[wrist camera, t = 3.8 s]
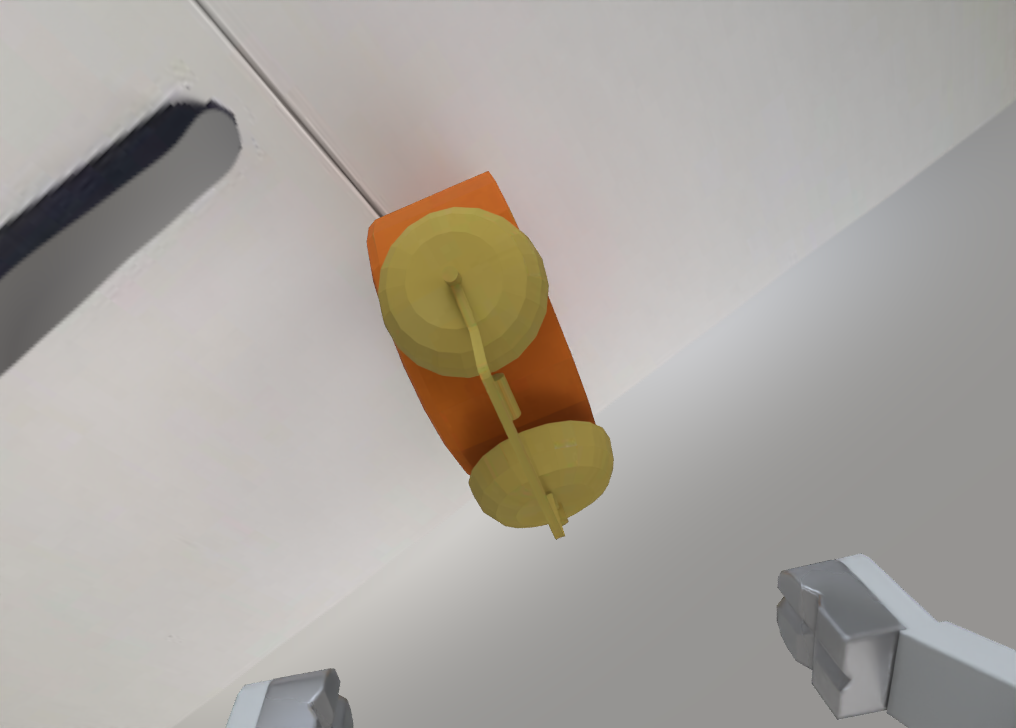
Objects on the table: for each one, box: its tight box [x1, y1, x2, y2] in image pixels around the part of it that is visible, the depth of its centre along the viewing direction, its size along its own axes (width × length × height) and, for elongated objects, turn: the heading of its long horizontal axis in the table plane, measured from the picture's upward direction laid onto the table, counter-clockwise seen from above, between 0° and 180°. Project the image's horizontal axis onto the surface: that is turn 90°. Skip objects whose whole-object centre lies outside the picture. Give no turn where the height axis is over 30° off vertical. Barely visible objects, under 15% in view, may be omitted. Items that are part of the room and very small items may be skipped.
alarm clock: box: [367, 171, 614, 540], centre depth 25 cm, size 13×6×20 cm, turn 22°
